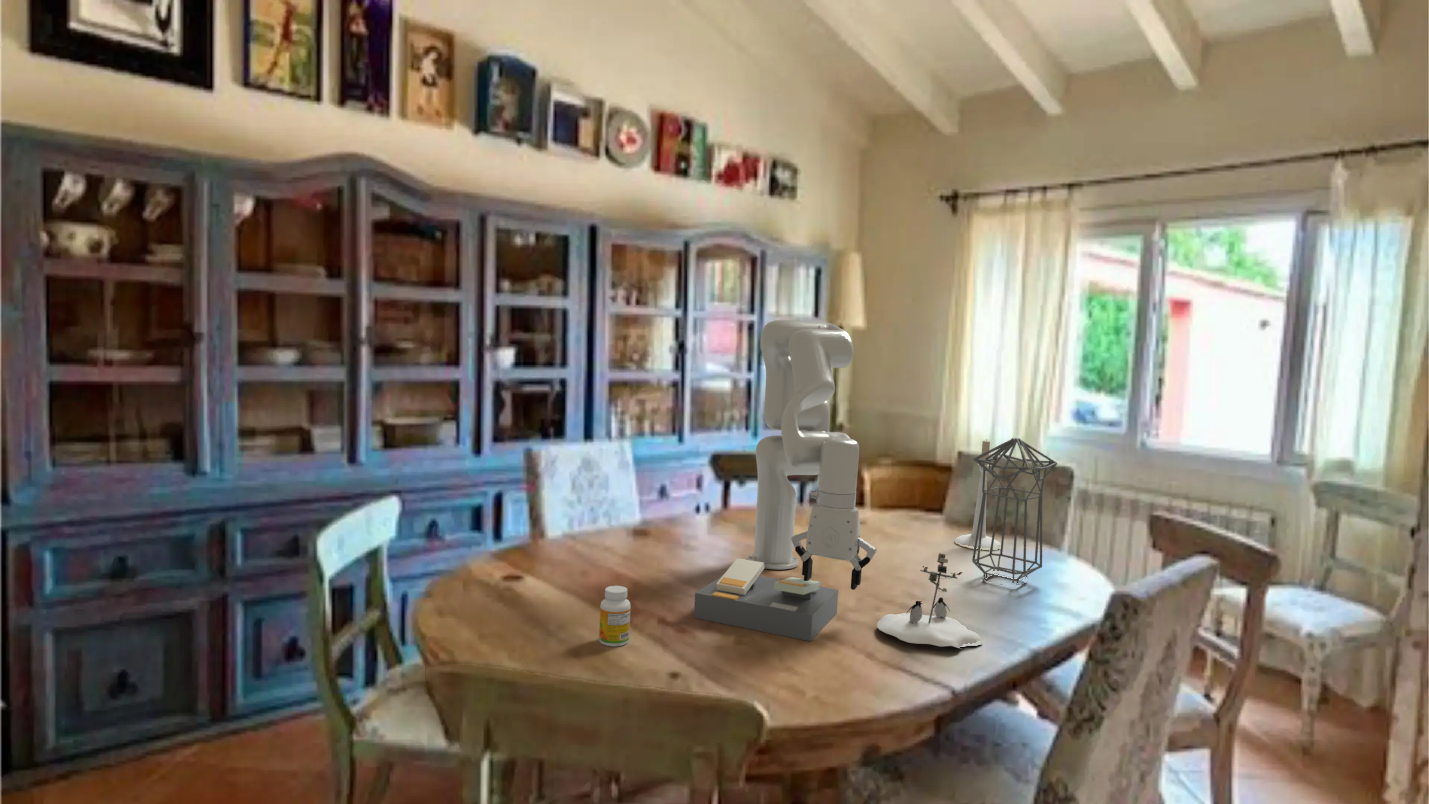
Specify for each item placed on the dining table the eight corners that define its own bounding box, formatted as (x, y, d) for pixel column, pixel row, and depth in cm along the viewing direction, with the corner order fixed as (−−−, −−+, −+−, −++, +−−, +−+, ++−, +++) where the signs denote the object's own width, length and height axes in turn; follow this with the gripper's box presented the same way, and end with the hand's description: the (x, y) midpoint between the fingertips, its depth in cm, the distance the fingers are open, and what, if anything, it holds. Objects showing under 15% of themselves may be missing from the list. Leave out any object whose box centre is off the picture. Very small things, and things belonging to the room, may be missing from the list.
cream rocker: (737, 564, 178) (737, 557, 178) (764, 568, 176) (764, 561, 176) (716, 589, 169) (716, 582, 168) (744, 595, 167) (744, 587, 166)
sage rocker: (791, 583, 174) (792, 575, 174) (819, 588, 172) (820, 580, 172) (773, 589, 164) (774, 581, 164) (803, 594, 162) (804, 586, 162)
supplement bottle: (599, 635, 155) (601, 583, 154) (629, 636, 156) (631, 584, 155) (598, 646, 150) (600, 593, 149) (628, 647, 150) (631, 594, 149)
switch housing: (729, 593, 184) (730, 565, 183) (836, 613, 174) (838, 584, 174) (693, 617, 167) (695, 587, 167) (810, 641, 158) (812, 609, 157)
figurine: (914, 655, 152) (927, 565, 151) (858, 622, 168) (869, 541, 168) (1001, 653, 160) (1013, 568, 159) (938, 622, 176) (950, 545, 176)
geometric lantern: (1049, 584, 203) (1062, 440, 200) (1022, 597, 192) (1035, 444, 189) (987, 569, 214) (999, 432, 211) (958, 580, 203) (969, 435, 200)
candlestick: (1006, 544, 241) (1015, 440, 238) (995, 553, 230) (1004, 444, 227) (961, 536, 248) (969, 435, 245) (948, 545, 237) (956, 438, 234)
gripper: (789, 497, 169) (783, 581, 170) (875, 509, 162) (868, 596, 164) (800, 491, 176) (795, 571, 177) (883, 502, 169) (877, 586, 170)
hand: (830, 583), depth 170 cm, fingers open, 9 cm apart
